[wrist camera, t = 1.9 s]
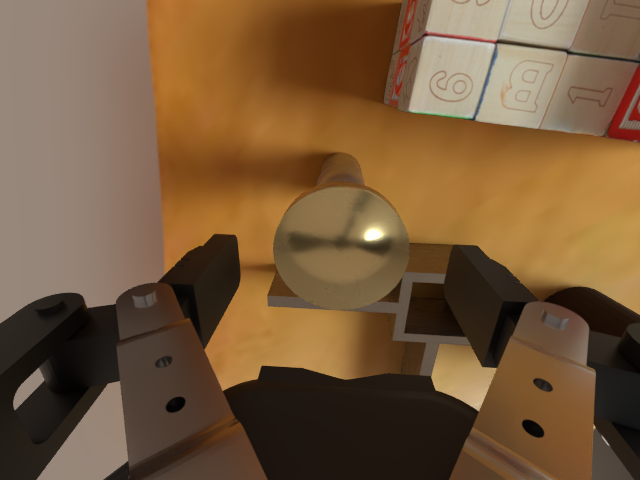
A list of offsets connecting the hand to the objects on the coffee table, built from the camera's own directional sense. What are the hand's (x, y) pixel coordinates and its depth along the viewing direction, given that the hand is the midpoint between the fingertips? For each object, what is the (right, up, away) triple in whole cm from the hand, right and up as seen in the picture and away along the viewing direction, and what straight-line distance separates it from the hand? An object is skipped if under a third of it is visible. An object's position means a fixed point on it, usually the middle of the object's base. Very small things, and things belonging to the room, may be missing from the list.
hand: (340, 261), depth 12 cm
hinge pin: (+1, +6, +13) cm, 14 cm away
